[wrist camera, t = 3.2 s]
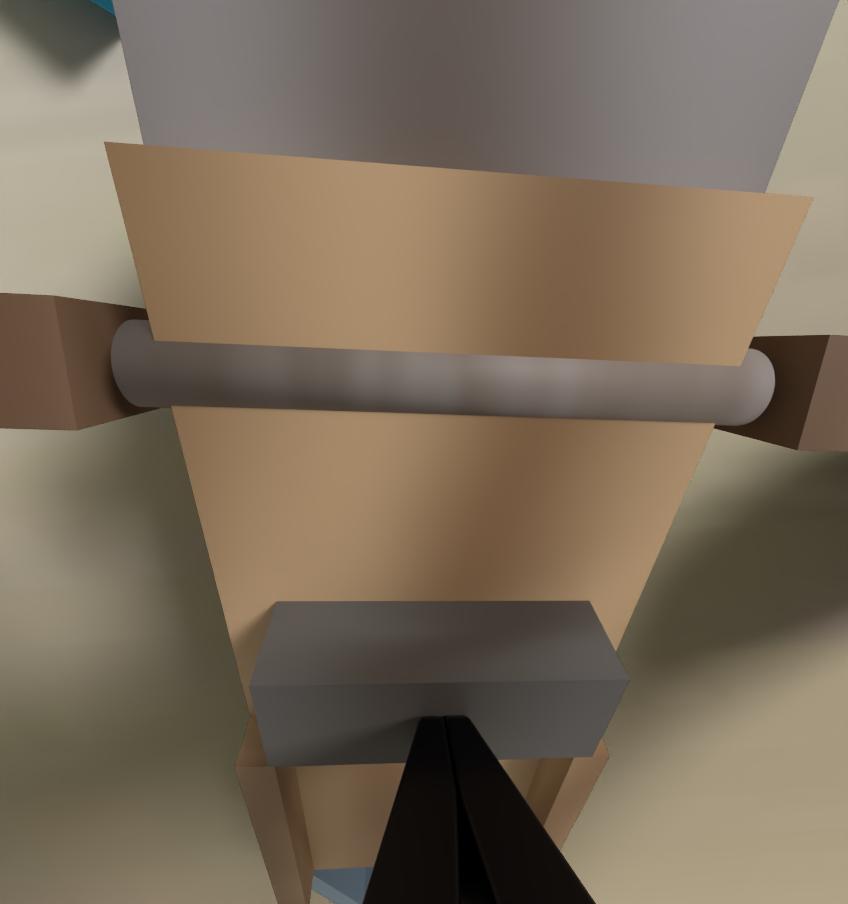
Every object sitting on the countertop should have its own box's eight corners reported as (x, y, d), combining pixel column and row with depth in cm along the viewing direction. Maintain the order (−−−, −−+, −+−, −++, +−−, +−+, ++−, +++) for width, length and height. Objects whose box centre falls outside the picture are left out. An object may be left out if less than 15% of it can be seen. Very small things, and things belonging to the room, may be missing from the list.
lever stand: (634, 185, 14) (1158, -167, 4) (594, 443, 16) (880, 584, 7) (205, 151, 13) (-345, -407, 3) (228, 433, 15) (-60, 584, 6)
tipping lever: (662, 50, 9) (1493, -519, 2) (502, 692, 19) (555, 927, 13) (218, 5, 8) (-639, -1065, 1) (308, 696, 19) (259, 946, 12)
